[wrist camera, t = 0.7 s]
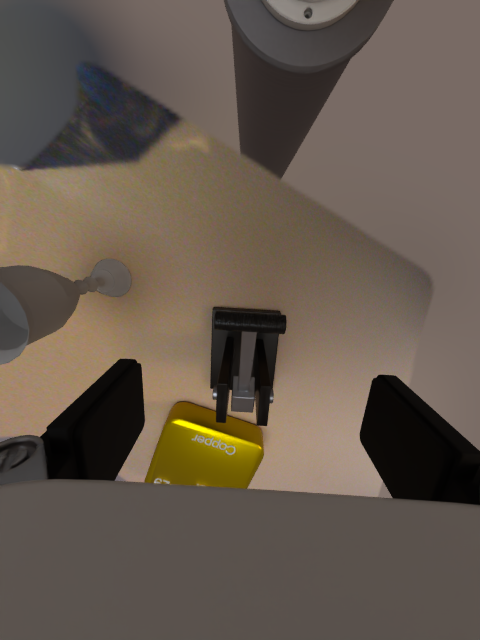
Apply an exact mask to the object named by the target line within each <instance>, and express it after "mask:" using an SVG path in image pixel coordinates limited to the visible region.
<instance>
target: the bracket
mask: <svg viewBox="0 0 480 640" xmlns="http://www.w3.org/2000/svg"><path fill="white" fill-rule="evenodd" d="M216 311H231V312H247V313H262V314H278V315H281V312H280V311H271V310H255V309H239V308H224V307H214V308H213V312H212V348H211V384H210V388H211V389H213V400H217V403H216V422H217V423H226V418H227V409H228V400H229V391H230V390H232V386H233V376H239V366H240V352H241V337H242V332H241V331H226V330H215V329H214V317H215V312H216ZM278 336H279V334H273V333H257V334H256V342H255V349H254V357H253V365H252V373H251V377H255V402H256V419H257V425H258V426H267V422H268V413H269V404H270V403H273V396H274V394H273V381H274V372H275V363H276V354H277V345H278Z"/></svg>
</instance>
